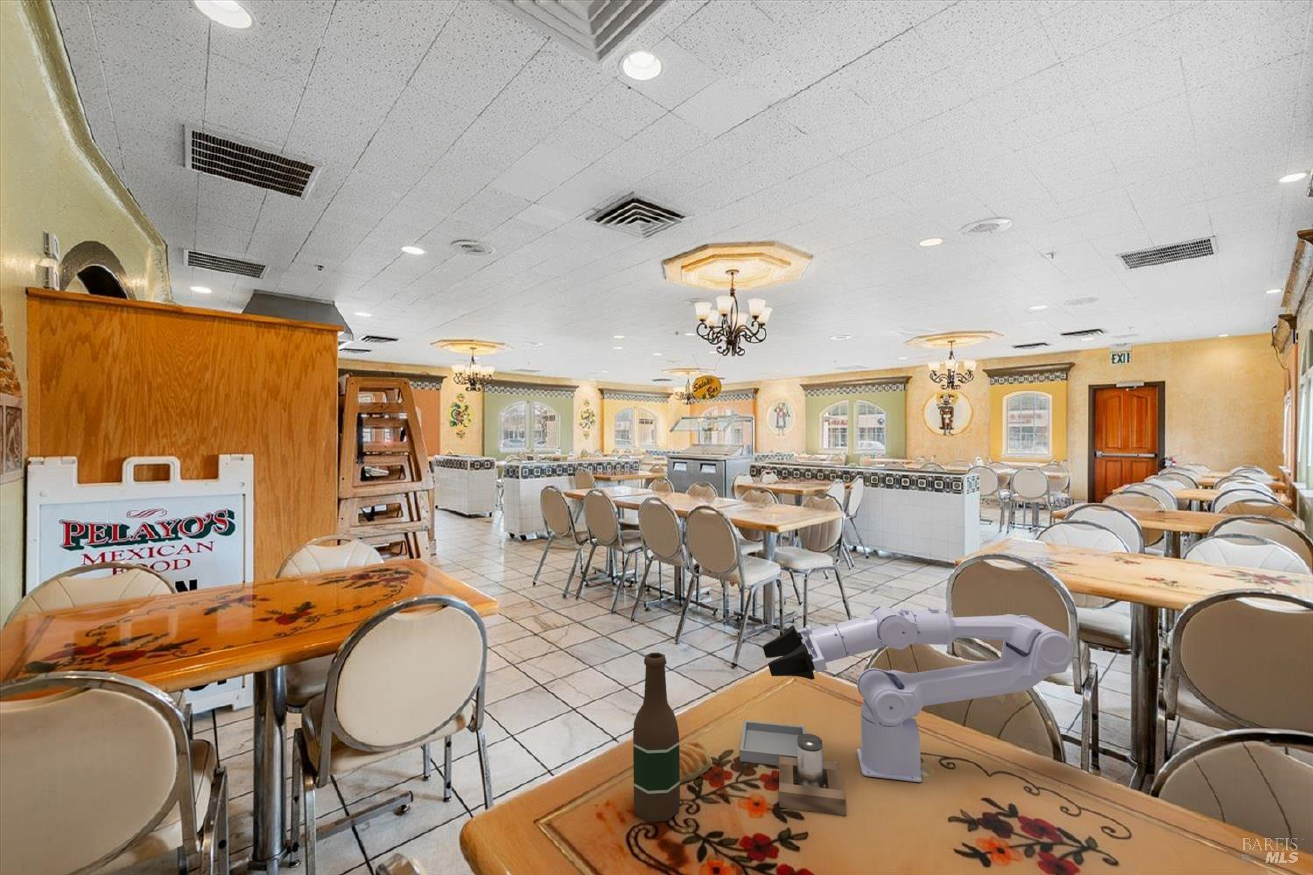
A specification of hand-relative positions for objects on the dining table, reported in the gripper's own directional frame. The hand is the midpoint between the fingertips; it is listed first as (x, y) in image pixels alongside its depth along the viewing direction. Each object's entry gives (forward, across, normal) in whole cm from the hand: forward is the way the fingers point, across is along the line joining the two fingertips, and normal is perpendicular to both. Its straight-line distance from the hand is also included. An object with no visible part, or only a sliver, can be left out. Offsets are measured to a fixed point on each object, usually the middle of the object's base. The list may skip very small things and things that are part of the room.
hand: (766, 660), depth 99 cm
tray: (+3, -4, +18) cm, 19 cm away
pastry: (+19, +4, +14) cm, 24 cm away
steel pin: (0, +9, +19) cm, 21 cm away
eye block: (0, +9, +19) cm, 21 cm away
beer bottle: (+24, +14, +12) cm, 30 cm away
